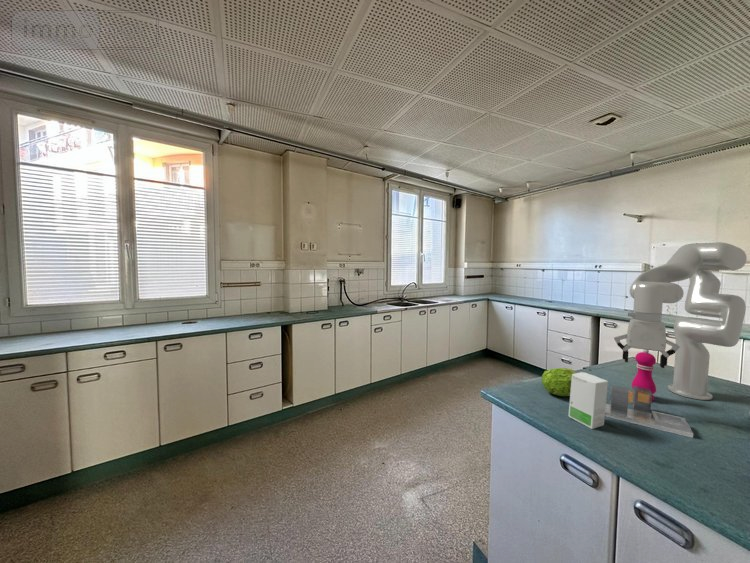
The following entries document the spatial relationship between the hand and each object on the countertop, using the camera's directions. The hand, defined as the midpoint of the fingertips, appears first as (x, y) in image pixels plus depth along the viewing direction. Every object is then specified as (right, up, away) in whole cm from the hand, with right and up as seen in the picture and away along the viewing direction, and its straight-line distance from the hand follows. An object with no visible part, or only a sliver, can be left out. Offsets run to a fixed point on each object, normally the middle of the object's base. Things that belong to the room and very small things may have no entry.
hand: (643, 364), depth 105 cm
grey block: (0, -17, +1) cm, 17 cm away
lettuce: (-17, -17, +17) cm, 29 cm away
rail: (-6, -18, -6) cm, 20 cm away
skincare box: (-25, -18, -6) cm, 32 cm away
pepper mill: (+10, -17, +11) cm, 23 cm away
